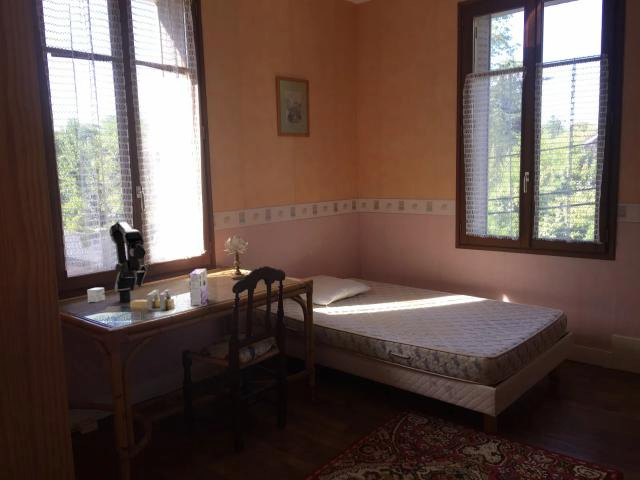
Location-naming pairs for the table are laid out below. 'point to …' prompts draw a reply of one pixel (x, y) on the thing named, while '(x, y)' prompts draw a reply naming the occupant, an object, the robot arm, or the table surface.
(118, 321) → the table surface
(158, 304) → the brass tube
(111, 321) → the table surface
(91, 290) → the skincare box
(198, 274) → the candy box
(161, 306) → the grey slotted rack
